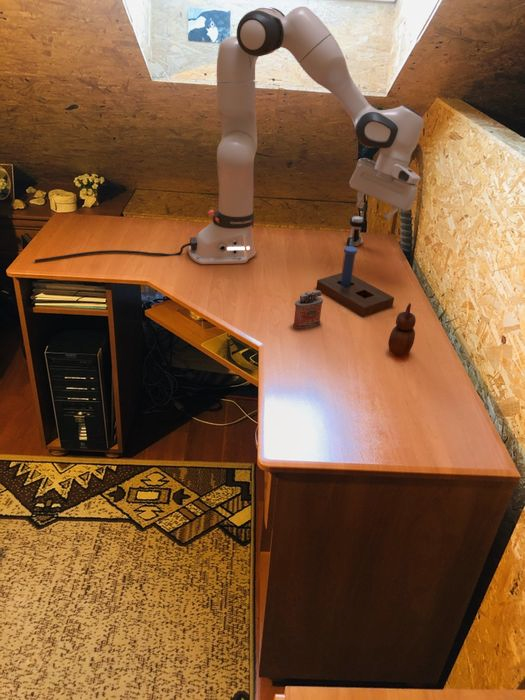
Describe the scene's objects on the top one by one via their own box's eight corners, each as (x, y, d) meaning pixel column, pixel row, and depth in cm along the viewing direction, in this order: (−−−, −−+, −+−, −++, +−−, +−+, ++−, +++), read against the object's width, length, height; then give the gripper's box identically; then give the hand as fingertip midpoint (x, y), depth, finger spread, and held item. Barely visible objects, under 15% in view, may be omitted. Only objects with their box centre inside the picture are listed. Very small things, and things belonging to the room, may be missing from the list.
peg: (341, 295, 171) (348, 251, 163) (335, 290, 174) (341, 246, 166) (352, 294, 172) (359, 250, 164) (346, 288, 175) (353, 245, 167)
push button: (357, 240, 208) (361, 213, 203) (367, 245, 204) (371, 218, 199) (343, 243, 205) (346, 216, 199) (352, 248, 201) (356, 221, 196)
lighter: (296, 331, 152) (300, 297, 146) (290, 325, 154) (293, 292, 149) (322, 325, 155) (326, 292, 150) (315, 319, 158) (319, 287, 152)
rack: (362, 317, 160) (364, 307, 159) (316, 288, 174) (317, 279, 172) (392, 306, 167) (394, 297, 165) (345, 280, 180) (346, 271, 178)
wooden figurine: (404, 362, 142) (417, 309, 134) (383, 355, 144) (393, 302, 136) (414, 350, 147) (426, 298, 139) (392, 343, 149) (403, 292, 141)
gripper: (355, 154, 166) (338, 200, 172) (417, 180, 158) (397, 227, 164) (364, 155, 171) (348, 200, 177) (425, 180, 163) (406, 226, 169)
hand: (372, 213), depth 171 cm, fingers open, 8 cm apart
